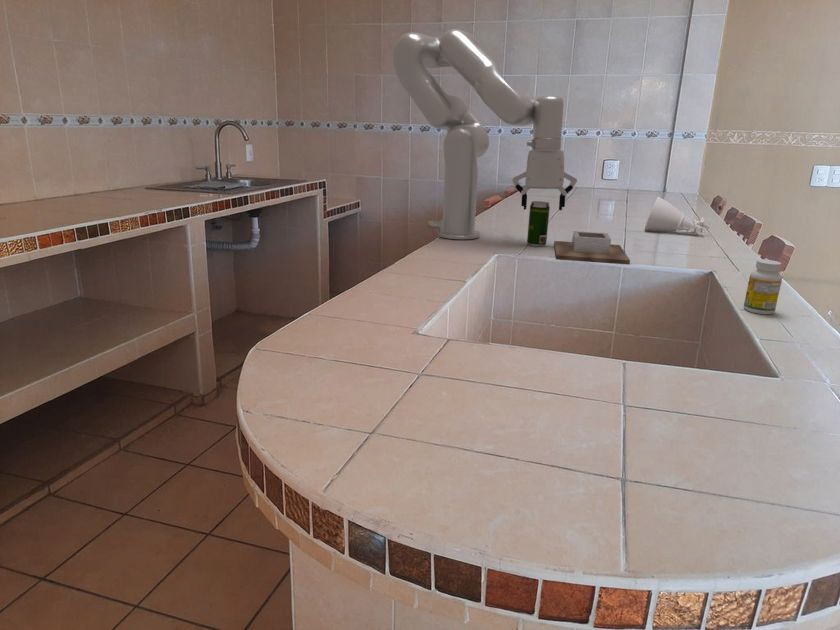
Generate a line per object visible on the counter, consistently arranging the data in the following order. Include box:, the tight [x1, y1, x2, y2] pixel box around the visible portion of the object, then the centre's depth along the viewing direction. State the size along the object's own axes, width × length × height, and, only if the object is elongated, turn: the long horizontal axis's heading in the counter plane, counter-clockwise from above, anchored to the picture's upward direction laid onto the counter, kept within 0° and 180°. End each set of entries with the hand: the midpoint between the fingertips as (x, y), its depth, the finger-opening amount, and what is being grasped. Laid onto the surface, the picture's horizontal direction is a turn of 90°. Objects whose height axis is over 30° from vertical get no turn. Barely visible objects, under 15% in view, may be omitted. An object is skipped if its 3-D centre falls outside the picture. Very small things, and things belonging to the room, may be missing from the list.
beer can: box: [526, 200, 551, 248], centre depth 168 cm, size 5×5×12 cm
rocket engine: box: [644, 196, 711, 238], centre depth 194 cm, size 12×12×18 cm
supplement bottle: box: [743, 259, 783, 315], centre depth 113 cm, size 5×5×10 cm
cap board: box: [553, 230, 631, 265], centre depth 160 cm, size 18×20×5 cm
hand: (542, 209), depth 166 cm, fingers open, 9 cm apart
